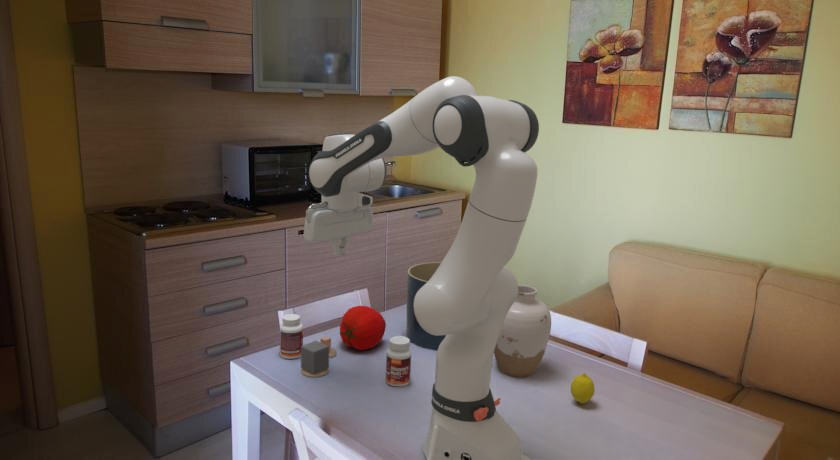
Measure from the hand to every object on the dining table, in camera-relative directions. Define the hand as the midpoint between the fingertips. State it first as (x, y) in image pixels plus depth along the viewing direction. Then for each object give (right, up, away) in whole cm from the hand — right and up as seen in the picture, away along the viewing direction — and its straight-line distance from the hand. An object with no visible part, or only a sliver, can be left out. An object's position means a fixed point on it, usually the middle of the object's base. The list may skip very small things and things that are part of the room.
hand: (339, 254), depth 151 cm
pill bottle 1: (-15, -28, +15) cm, 35 cm away
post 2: (-6, -28, +17) cm, 33 cm away
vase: (+46, -32, +13) cm, 57 cm away
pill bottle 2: (+15, -33, +3) cm, 36 cm away
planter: (+27, -26, +32) cm, 49 cm away
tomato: (+3, -27, +23) cm, 36 cm away
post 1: (-7, -30, +6) cm, 32 cm away
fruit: (+59, -36, -4) cm, 69 cm away
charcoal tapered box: (-7, -29, +6) cm, 31 cm away
